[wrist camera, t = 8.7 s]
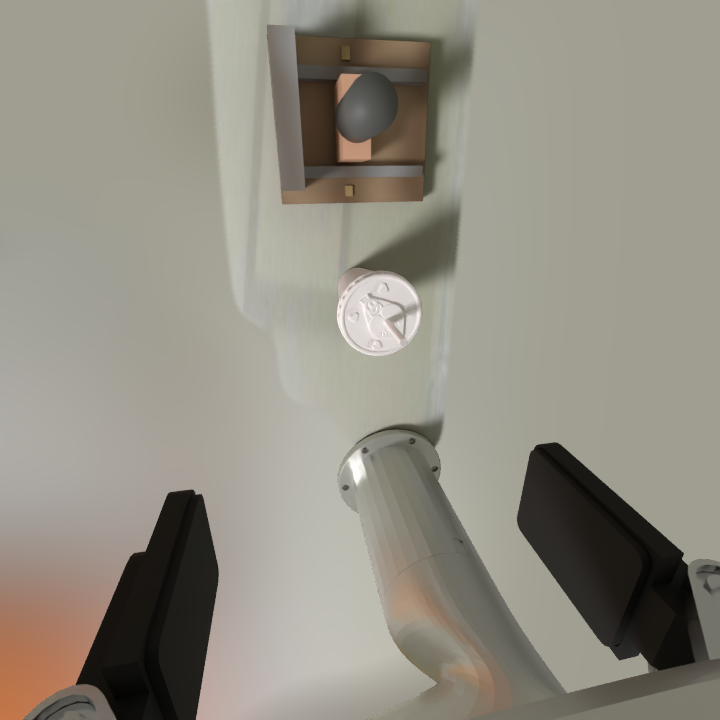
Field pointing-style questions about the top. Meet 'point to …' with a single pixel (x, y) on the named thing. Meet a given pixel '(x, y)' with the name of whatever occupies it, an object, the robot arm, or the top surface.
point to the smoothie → (377, 311)
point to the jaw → (362, 113)
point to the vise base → (317, 118)
